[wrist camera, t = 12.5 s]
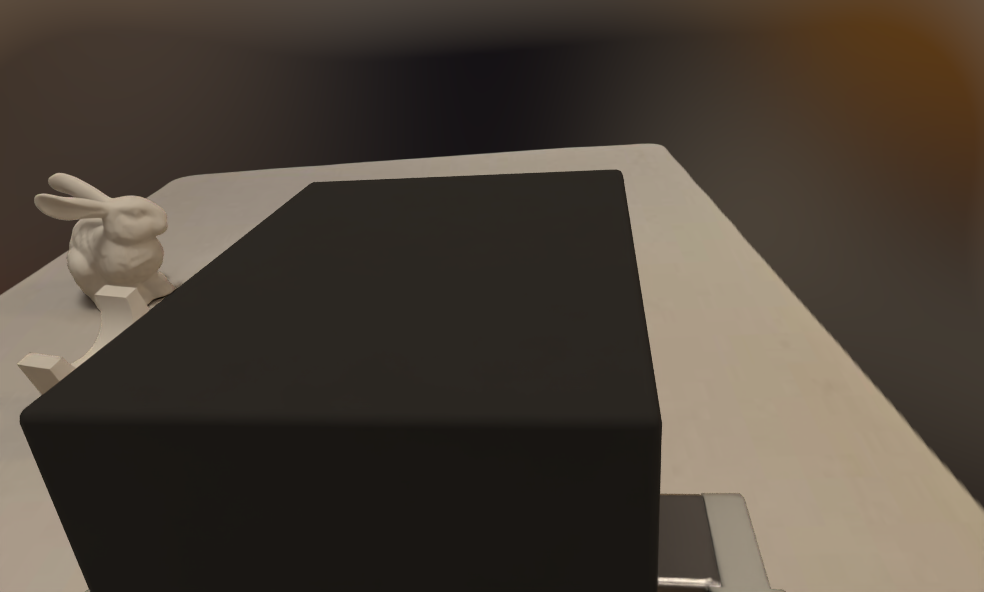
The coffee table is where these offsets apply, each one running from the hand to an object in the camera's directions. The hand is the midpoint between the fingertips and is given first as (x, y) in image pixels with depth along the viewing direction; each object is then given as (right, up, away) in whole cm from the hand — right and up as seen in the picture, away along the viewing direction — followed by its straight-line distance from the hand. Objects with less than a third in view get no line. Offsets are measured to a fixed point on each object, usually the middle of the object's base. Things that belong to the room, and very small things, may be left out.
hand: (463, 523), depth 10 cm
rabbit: (-32, +3, +54) cm, 63 cm away
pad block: (0, -5, +1) cm, 6 cm away
